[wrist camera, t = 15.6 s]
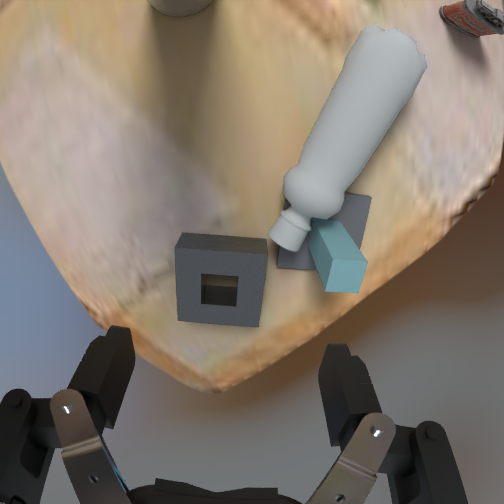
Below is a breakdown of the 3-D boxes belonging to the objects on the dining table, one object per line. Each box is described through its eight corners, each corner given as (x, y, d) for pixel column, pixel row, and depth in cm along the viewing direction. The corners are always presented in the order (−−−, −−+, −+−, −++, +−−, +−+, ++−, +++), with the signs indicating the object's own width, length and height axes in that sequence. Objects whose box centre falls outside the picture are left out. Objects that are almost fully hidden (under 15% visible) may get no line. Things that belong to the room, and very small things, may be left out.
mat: (287, 185, 42) (287, 187, 41) (369, 196, 42) (371, 197, 41) (276, 264, 47) (277, 267, 46) (352, 269, 47) (353, 272, 47)
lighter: (478, 25, 29) (518, 19, 20) (477, 42, 30) (518, 38, 21) (439, 2, 28) (477, -12, 19) (438, 19, 29) (477, 7, 20)
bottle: (352, 14, 28) (239, 215, 40) (413, 25, 22) (278, 259, 34) (387, 53, 34) (287, 226, 46) (441, 71, 28) (326, 265, 40)
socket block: (182, 232, 45) (174, 247, 40) (266, 238, 45) (267, 254, 41) (183, 301, 50) (177, 320, 45) (257, 307, 50) (258, 327, 46)
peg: (312, 218, 43) (333, 259, 32) (339, 221, 43) (367, 262, 32) (307, 244, 45) (325, 291, 34) (334, 247, 45) (358, 293, 34)
